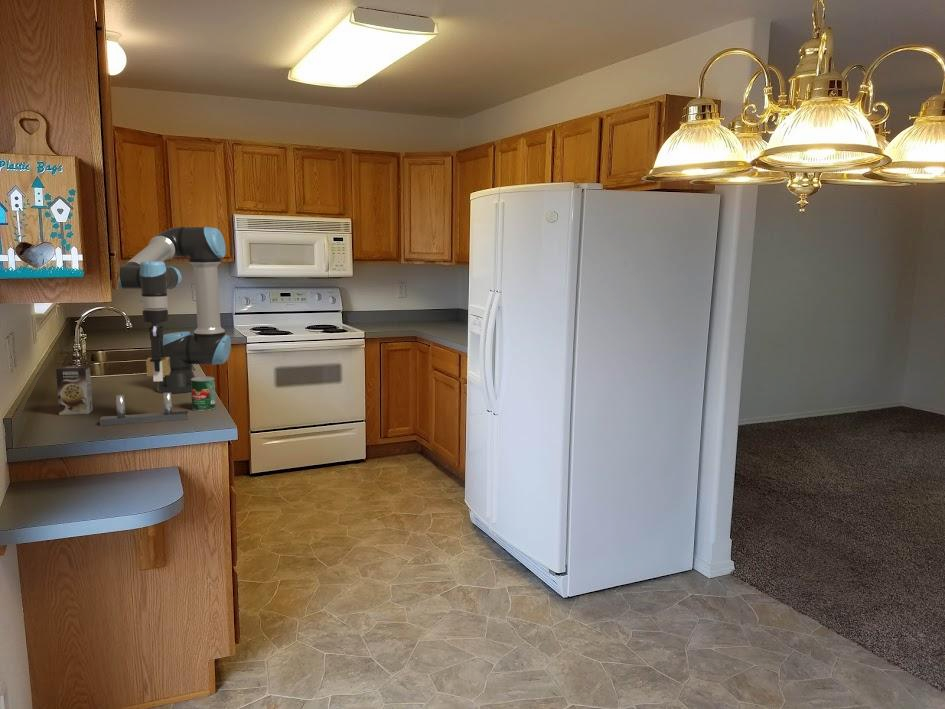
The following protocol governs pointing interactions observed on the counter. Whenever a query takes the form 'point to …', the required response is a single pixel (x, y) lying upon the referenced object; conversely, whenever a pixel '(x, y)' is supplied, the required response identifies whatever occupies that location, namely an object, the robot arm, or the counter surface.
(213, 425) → the counter surface
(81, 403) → the cookie box
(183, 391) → the robot arm
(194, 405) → the canned tomato
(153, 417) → the grey peg stand
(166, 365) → the collar
